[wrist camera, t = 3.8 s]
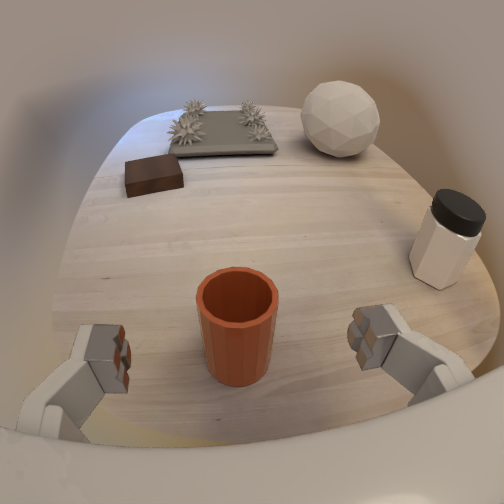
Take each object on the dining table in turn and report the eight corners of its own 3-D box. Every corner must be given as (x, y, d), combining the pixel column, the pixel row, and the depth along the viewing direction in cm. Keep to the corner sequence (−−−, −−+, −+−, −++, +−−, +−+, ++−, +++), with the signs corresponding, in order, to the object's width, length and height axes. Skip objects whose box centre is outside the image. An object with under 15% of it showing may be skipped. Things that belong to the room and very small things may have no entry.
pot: (216, 394, 28) (208, 337, 21) (199, 342, 32) (188, 276, 26) (278, 375, 29) (291, 314, 23) (256, 328, 34) (260, 260, 28)
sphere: (337, 169, 83) (373, 114, 78) (363, 176, 64) (407, 109, 59) (280, 130, 79) (319, 74, 74) (293, 125, 60) (342, 56, 55)
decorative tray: (278, 158, 70) (281, 117, 63) (165, 162, 67) (161, 121, 60) (258, 118, 96) (259, 89, 90) (179, 120, 93) (177, 92, 87)
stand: (127, 198, 55) (124, 184, 53) (127, 174, 63) (125, 161, 61) (183, 187, 58) (182, 173, 56) (175, 165, 66) (174, 153, 64)
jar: (432, 248, 46) (457, 186, 38) (464, 279, 40) (496, 216, 33) (397, 259, 44) (422, 190, 36) (430, 296, 38) (466, 225, 30)
